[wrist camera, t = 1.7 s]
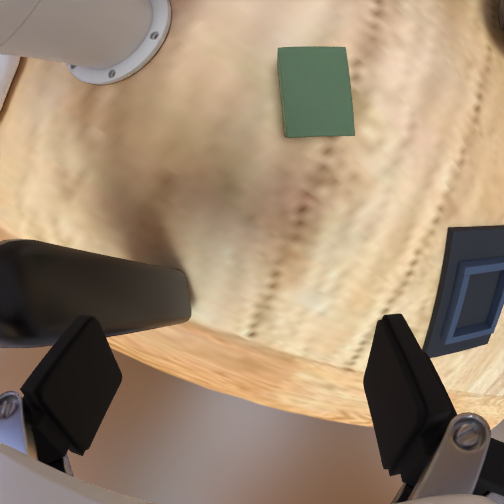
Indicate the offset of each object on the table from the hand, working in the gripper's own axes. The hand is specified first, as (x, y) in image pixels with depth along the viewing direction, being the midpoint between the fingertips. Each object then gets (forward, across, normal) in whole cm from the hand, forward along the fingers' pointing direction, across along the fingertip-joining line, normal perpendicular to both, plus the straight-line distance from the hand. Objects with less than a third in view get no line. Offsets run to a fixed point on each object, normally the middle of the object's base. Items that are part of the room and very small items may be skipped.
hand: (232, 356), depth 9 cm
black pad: (+20, -27, +12) cm, 35 cm away
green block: (+20, -5, -10) cm, 23 cm away
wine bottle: (+19, +10, +10) cm, 24 cm away
